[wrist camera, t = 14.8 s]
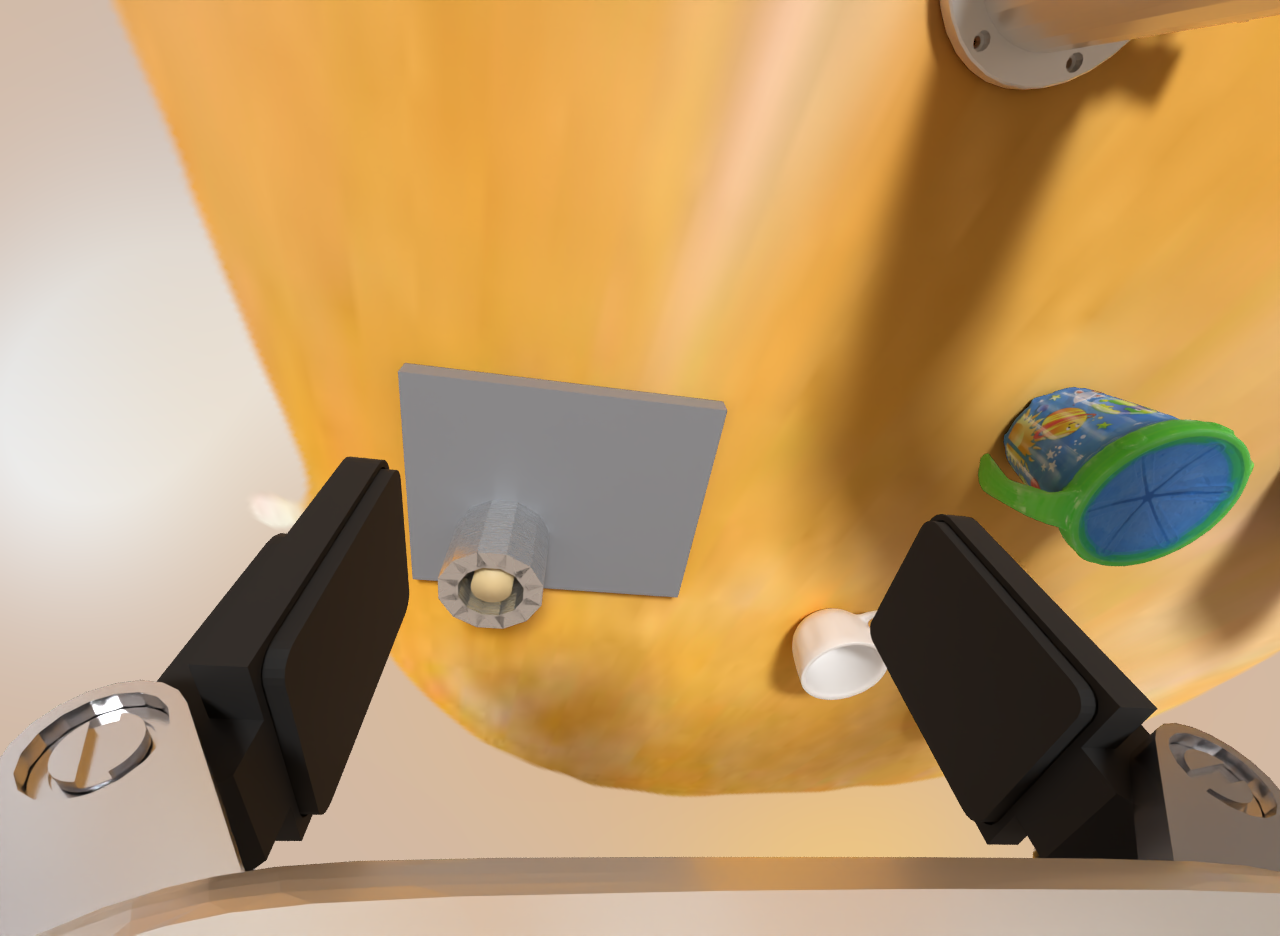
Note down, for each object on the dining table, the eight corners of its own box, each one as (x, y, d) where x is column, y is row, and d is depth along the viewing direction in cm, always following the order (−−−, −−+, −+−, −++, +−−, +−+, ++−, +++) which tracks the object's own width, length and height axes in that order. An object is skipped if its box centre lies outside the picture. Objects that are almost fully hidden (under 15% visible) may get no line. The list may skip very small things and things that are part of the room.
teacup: (813, 663, 56) (833, 710, 51) (767, 629, 53) (783, 676, 48) (897, 609, 53) (926, 655, 48) (853, 569, 50) (879, 614, 45)
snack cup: (932, 490, 45) (1011, 575, 37) (970, 369, 40) (1073, 436, 31) (1114, 480, 46) (1233, 561, 37) (1176, 360, 40) (1333, 422, 32)
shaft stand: (723, 401, 40) (745, 449, 34) (675, 585, 49) (686, 648, 43) (404, 363, 37) (367, 408, 31) (417, 566, 46) (391, 631, 40)
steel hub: (552, 504, 42) (545, 557, 37) (545, 574, 45) (539, 630, 40) (456, 496, 41) (436, 549, 36) (457, 567, 44) (439, 624, 39)
